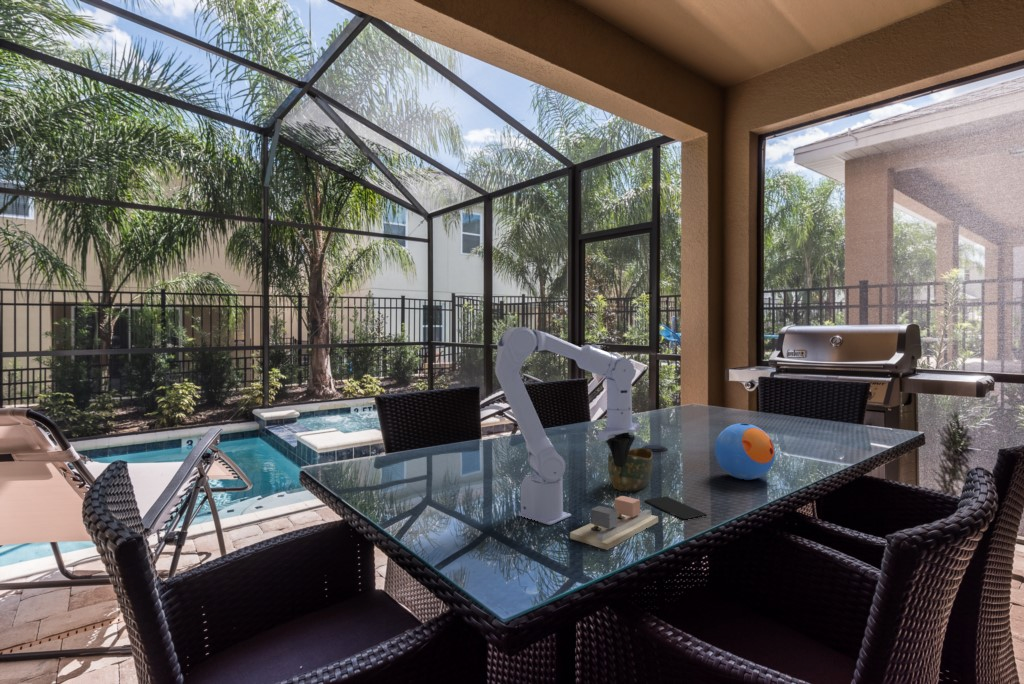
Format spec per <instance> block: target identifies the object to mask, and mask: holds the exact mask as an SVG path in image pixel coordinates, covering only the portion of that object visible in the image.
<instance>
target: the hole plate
mask: <svg viewBox="0 0 1024 684" xmlns="http://www.w3.org/2000/svg"><path fill="white" fill-rule="evenodd" d="M628 518H630V516H626V515H622V517H618V523H620V522H622V521H624V520H626V519H628ZM658 523H659V516H657V515H652V514H651V516H650V517H648V518H646V519H644V520H642V521H640V522H639V523H637V524H635V525H633V526H631V527H629V528H627V529H625V530H623V531H621V532H620V533H618V534H616V535H614V536H612V537H610V538H608V539H606V540H604V541H600V540H598V538H597V534H598V533H600V532H602V531H604V530H606V529H608V528H604V527H601V526H599V528H598V529H595V528H594V524H591V522H590V523H588V524H586V525H583V526H581V527H579V528H577V529H574V530H572V531H569V539H570V540H574V541H577V542H579V543H580V542H581V543H583V544H584V543H585V544H587V545H590V546H592V547H593V546H594V547H597V548H599V549H603V550H606V551H608V550H610V549H612V548H614V547H616V546H617V545H620V544H621V543H622V542H625V541H626V540H628V539H630V538H632V537H633V536H634V537H635V536H636V535H637V533H638V534H639V533H641V532H643V531H644V530H647V529H649V528H650V527H652V526H654V525H656V524H658ZM646 528H647V529H646ZM635 534H636V535H635Z"/></svg>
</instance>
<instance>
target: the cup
mask: <svg viewBox="0 0 1024 684" xmlns="http://www.w3.org/2000/svg"><path fill="white" fill-rule="evenodd" d="M607 458H608V459H607V466H608V467H607V469H608V470H607V471H608V476H609V480H610V482H611V485H612V486H613V489H615V490H616V489H617V491H621V492H625V491H628V492H629V493H631V491H633V492H637V491H641V490H643V489H644V488H646V487H647V486H648V485H649V480H650V478H651V477H652V473H653V465H654V464H653V463H654V457H653V452H652V450H651V449H649V448H646V447H636V448H632V449H630V450H629V453H628V457H627V461H626V465H625V466H624V467H618V466H615V464H614V460H613V456H612V453H611V452H610V453H608V457H607Z"/></svg>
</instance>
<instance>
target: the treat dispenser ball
mask: <svg viewBox="0 0 1024 684" xmlns="http://www.w3.org/2000/svg"><path fill="white" fill-rule="evenodd" d="M714 454H715V458H716V461H717V462H718V464H719V466H720V468H721V469H722V470H723V472H725V473H726V474H728V475H729V476H730V477H731V476H732V477H733V478H736V479H740V480H742V479H744V480H745V481H751V480H756V479H758V478H761V477H763V476H765V474H767V473H768V472H769V471H770V469H771V468H772V467H773V465H774V462H775V458H776V450H775V445H774V443H773V441H772V439H771V437H770V436H769V434H767V433H766V431H765V430H763V429H761V428H760V427H759V426H756V425H754V424H750V423H745V422H744V423H743V422H741V423H735V424H731V425H729V426H727V427H726V428H724V429H723V430H722V431H721V432H720V433H719V435H718V436H717V438H716V440H715V445H714ZM744 480H743V481H744Z"/></svg>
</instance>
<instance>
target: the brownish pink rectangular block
mask: <svg viewBox="0 0 1024 684" xmlns="http://www.w3.org/2000/svg"><path fill="white" fill-rule="evenodd" d="M613 500H614V510H618V517H622V515H626V516H630V517H634V516H636V515H638V514H640V512H641V500H640V499H638V498H634V497H633V498H632V497H630V496H625V495H620V496H618V497H616V498H614V499H613Z"/></svg>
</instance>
